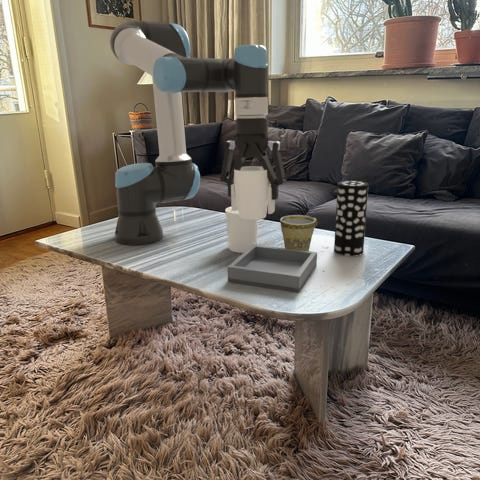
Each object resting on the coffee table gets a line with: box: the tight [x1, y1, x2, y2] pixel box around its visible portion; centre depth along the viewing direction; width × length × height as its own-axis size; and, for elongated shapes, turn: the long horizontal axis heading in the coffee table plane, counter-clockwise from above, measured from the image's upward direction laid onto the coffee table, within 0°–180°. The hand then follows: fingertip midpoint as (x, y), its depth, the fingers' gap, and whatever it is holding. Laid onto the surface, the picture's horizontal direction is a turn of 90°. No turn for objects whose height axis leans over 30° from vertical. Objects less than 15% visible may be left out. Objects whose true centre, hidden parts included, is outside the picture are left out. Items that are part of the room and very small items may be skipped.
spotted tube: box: [333, 180, 369, 257], centre depth 129 cm, size 8×8×20 cm
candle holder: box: [224, 206, 259, 254], centre depth 134 cm, size 10×10×12 cm
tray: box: [227, 244, 318, 293], centre depth 116 cm, size 18×18×4 cm
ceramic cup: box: [279, 214, 318, 251], centre depth 131 cm, size 13×10×10 cm
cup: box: [234, 165, 271, 221], centre depth 111 cm, size 9×9×12 cm
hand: (252, 211), depth 113 cm, fingers closed on cup, 9 cm apart
